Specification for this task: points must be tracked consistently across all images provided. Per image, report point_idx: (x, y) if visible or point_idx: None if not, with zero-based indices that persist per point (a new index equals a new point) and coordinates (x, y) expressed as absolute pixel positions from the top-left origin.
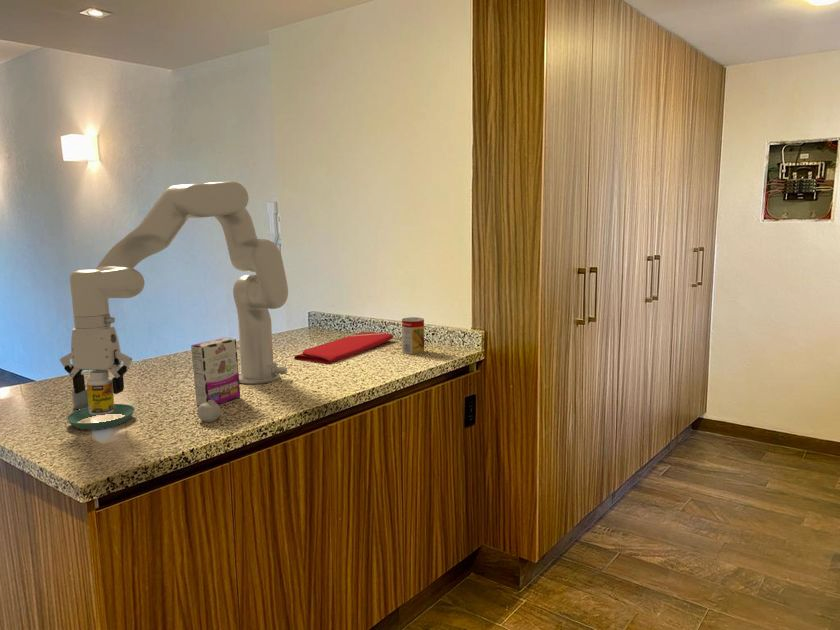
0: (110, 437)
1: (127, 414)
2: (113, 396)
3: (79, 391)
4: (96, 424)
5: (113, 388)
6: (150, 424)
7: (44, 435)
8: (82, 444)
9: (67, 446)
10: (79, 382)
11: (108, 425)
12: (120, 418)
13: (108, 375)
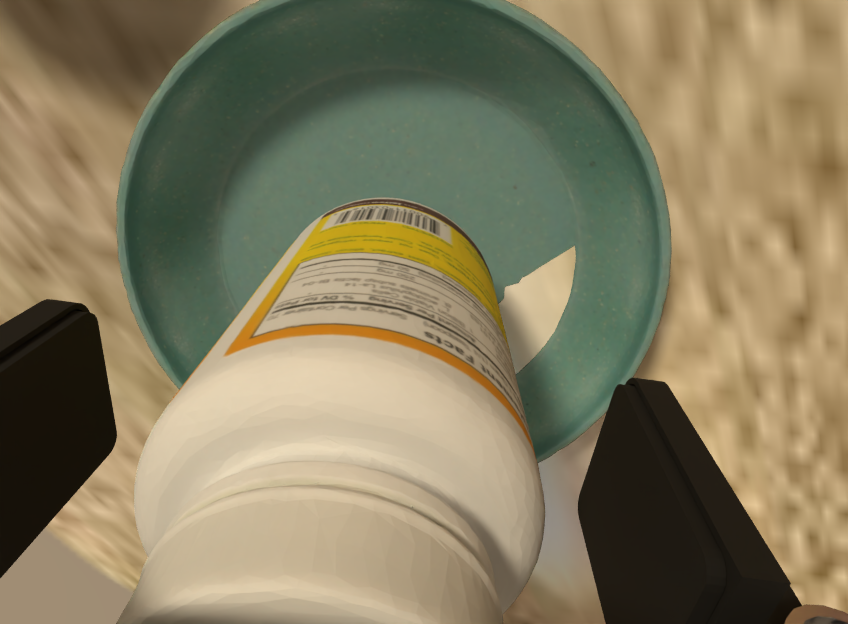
0: (581, 540)
1: (559, 137)
2: (504, 330)
3: (105, 424)
4: None
5: (596, 563)
6: (796, 363)
7: None
8: None
9: None
10: (14, 497)
11: None
12: (598, 415)
13: (501, 618)
